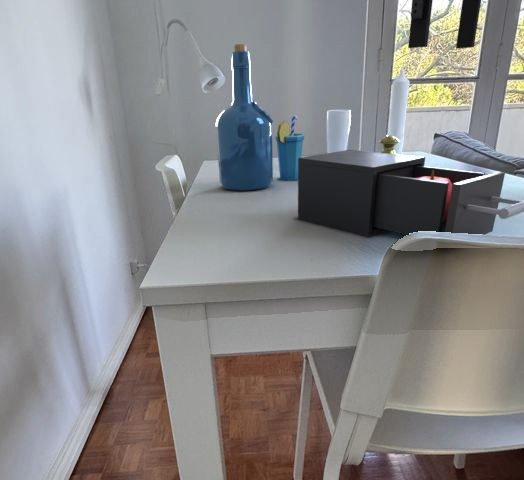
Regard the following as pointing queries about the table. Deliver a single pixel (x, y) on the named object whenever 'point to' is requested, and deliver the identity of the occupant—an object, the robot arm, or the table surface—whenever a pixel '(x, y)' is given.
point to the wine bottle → (244, 134)
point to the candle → (398, 109)
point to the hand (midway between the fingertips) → (442, 48)
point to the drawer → (440, 201)
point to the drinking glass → (337, 130)
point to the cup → (288, 150)
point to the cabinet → (344, 187)
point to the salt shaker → (388, 144)
